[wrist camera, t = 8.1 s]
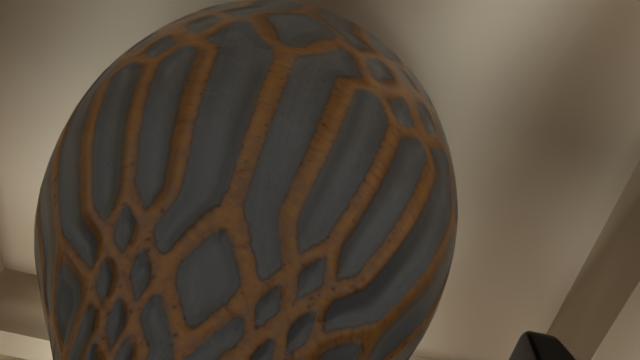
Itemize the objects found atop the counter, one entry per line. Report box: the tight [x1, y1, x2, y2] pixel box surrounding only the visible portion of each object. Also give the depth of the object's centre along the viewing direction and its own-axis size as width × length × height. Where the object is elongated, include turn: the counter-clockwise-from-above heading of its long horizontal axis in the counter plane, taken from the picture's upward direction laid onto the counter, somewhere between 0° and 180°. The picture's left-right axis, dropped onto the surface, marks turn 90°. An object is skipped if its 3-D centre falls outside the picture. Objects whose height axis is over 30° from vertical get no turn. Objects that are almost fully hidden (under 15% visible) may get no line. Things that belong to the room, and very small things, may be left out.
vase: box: [34, 0, 458, 360], centre depth 9 cm, size 7×7×9 cm
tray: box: [0, 0, 640, 360], centre depth 13 cm, size 18×16×3 cm
